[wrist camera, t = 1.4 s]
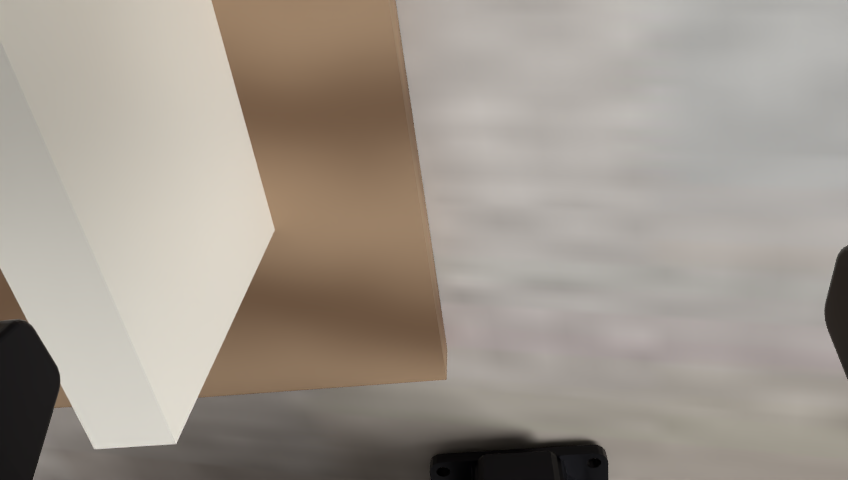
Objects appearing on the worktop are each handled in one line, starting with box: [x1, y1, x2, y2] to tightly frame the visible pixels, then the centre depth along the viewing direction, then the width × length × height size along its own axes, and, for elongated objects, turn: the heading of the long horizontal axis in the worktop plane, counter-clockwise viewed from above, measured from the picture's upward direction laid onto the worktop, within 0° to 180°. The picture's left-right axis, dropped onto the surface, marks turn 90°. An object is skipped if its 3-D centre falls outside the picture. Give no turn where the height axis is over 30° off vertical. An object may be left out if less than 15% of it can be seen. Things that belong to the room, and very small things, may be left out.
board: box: [0, 0, 447, 408], centre depth 19 cm, size 20×18×2 cm
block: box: [0, 0, 275, 449], centre depth 14 cm, size 8×2×8 cm, turn 8°
